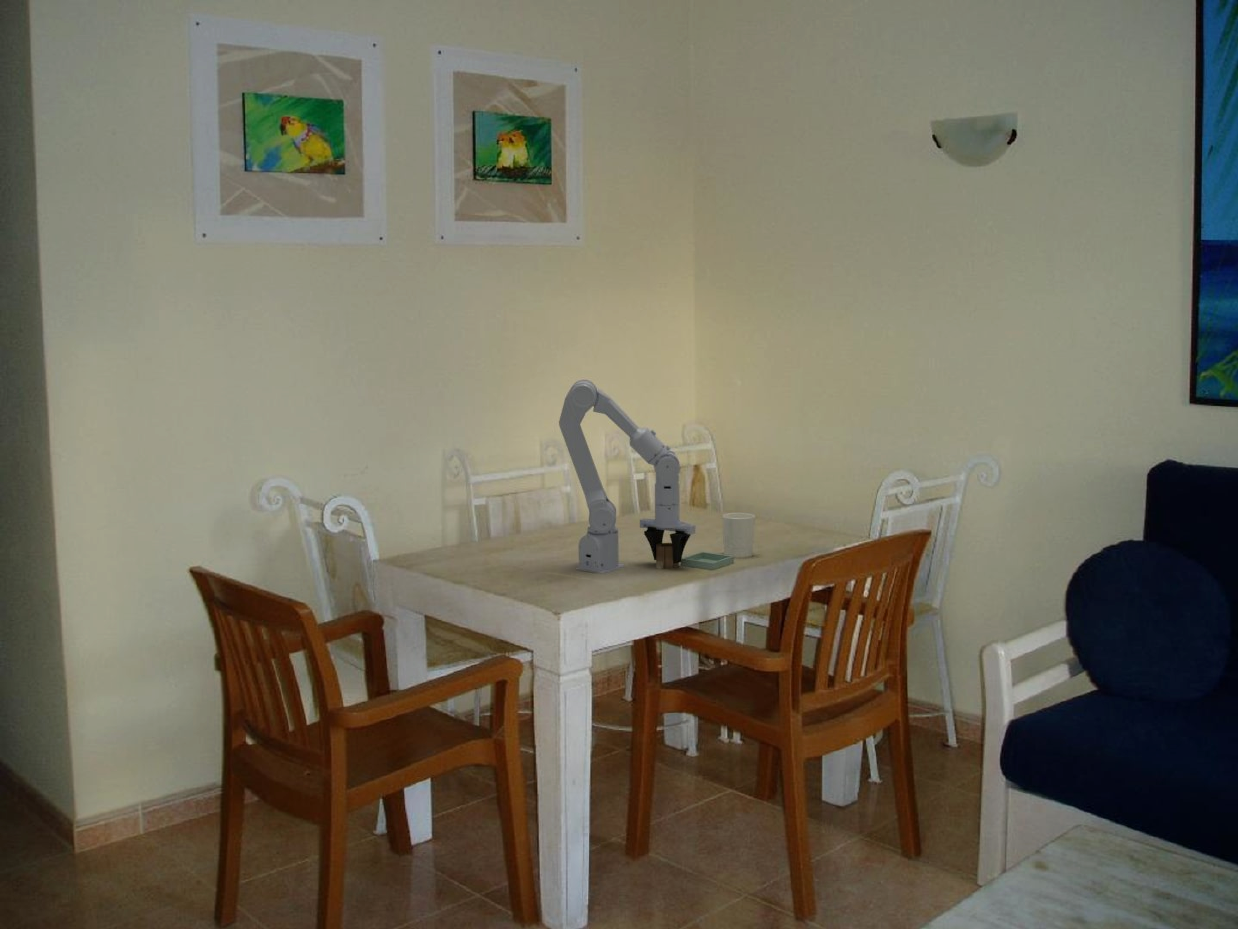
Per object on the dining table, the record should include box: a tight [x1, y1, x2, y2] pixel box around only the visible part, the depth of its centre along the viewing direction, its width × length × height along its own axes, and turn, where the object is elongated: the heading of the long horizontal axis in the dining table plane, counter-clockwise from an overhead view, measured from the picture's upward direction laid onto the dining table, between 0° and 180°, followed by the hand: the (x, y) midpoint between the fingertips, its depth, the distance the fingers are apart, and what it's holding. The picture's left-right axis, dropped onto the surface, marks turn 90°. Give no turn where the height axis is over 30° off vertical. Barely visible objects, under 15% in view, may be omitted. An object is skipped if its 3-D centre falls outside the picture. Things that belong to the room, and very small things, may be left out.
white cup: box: [721, 512, 756, 559], centre depth 311 cm, size 8×8×10 cm
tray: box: [680, 551, 735, 571], centre depth 301 cm, size 9×9×2 cm
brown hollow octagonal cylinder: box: [655, 542, 680, 570], centre depth 299 cm, size 6×5×5 cm
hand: (667, 561), depth 300 cm, fingers closed on brown hollow octagonal cylinder, 5 cm apart
